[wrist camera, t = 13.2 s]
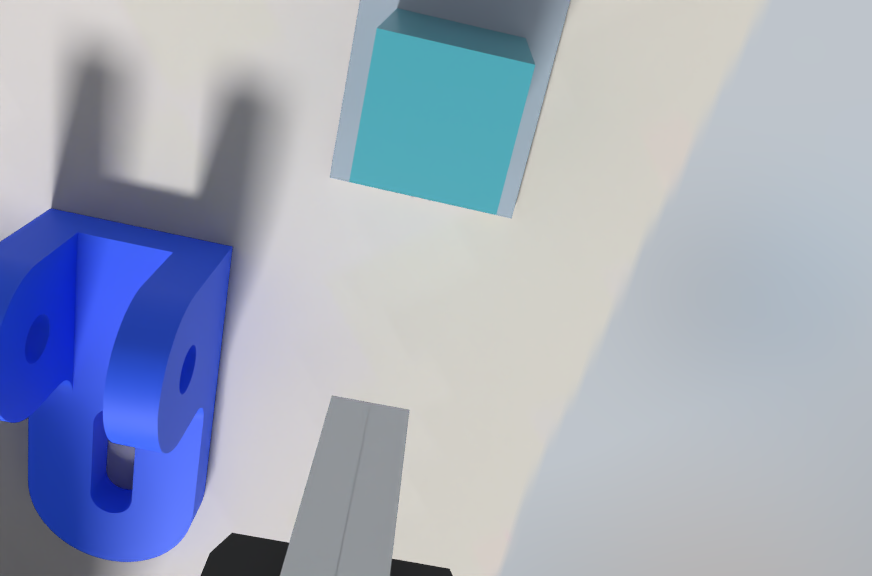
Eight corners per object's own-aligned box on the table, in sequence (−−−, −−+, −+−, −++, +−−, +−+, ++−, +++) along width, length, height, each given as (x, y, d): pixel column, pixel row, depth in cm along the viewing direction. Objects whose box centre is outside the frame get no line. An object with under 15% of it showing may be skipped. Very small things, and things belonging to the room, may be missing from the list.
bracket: (52, 207, 38) (-68, 286, 30) (233, 245, 38) (164, 334, 30) (47, 517, 45) (-51, 651, 37) (198, 547, 45) (135, 686, 37)
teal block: (397, 8, 33) (376, 28, 27) (525, 37, 33) (535, 64, 27) (373, 135, 35) (348, 182, 29) (494, 163, 35) (496, 214, 29)
